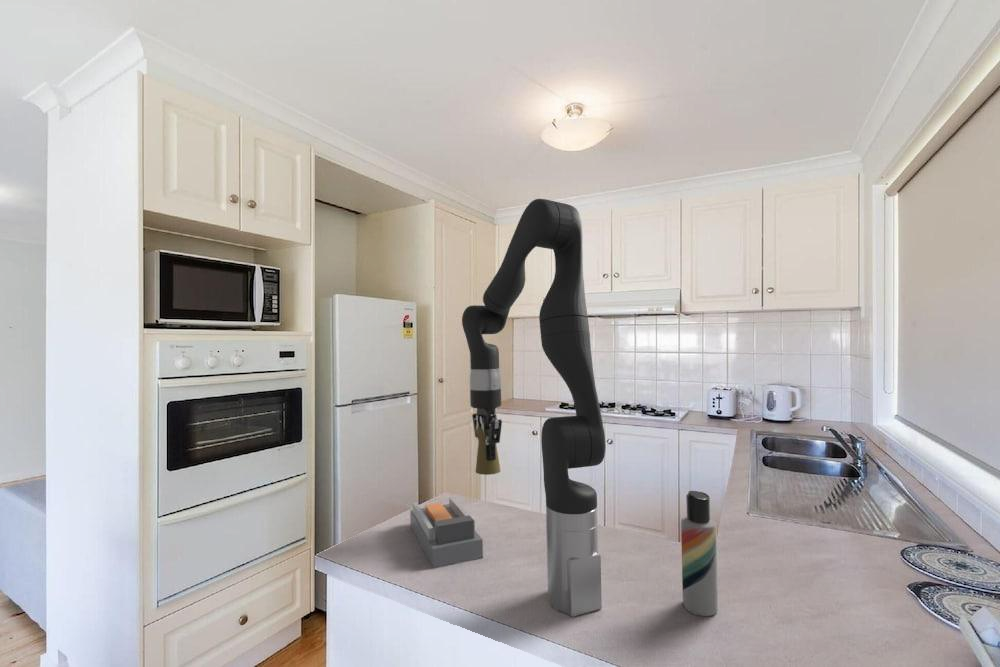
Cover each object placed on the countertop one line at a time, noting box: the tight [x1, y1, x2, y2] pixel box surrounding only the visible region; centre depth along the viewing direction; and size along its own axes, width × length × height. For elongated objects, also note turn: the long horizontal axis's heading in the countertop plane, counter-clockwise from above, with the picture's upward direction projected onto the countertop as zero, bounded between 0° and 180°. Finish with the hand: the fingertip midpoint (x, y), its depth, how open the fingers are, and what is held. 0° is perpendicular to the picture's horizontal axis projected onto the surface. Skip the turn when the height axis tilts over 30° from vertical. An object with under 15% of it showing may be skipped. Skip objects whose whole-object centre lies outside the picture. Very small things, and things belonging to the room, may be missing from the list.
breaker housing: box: [409, 496, 484, 569], centre depth 111 cm, size 24×11×8 cm, turn 22°
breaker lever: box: [424, 502, 452, 523], centre depth 113 cm, size 17×4×1 cm, turn 22°
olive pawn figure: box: [475, 426, 501, 476], centre depth 114 cm, size 6×6×11 cm
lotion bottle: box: [680, 490, 719, 617], centre depth 82 cm, size 6×6×20 cm
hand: (487, 457), depth 114 cm, fingers closed on olive pawn figure, 4 cm apart
